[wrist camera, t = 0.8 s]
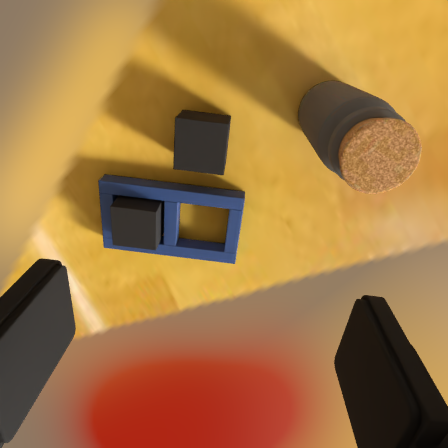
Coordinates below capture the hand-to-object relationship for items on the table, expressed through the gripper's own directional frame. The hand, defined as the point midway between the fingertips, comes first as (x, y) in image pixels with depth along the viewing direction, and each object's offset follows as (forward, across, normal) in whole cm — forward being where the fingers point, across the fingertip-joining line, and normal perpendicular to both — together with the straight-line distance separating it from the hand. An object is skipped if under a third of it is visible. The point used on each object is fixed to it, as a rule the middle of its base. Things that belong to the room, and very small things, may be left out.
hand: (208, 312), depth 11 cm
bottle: (+27, -9, -3) cm, 29 cm away
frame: (+27, +6, +11) cm, 30 cm away
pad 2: (+27, +3, +1) cm, 27 cm away
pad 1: (+27, +10, +11) cm, 31 cm away
